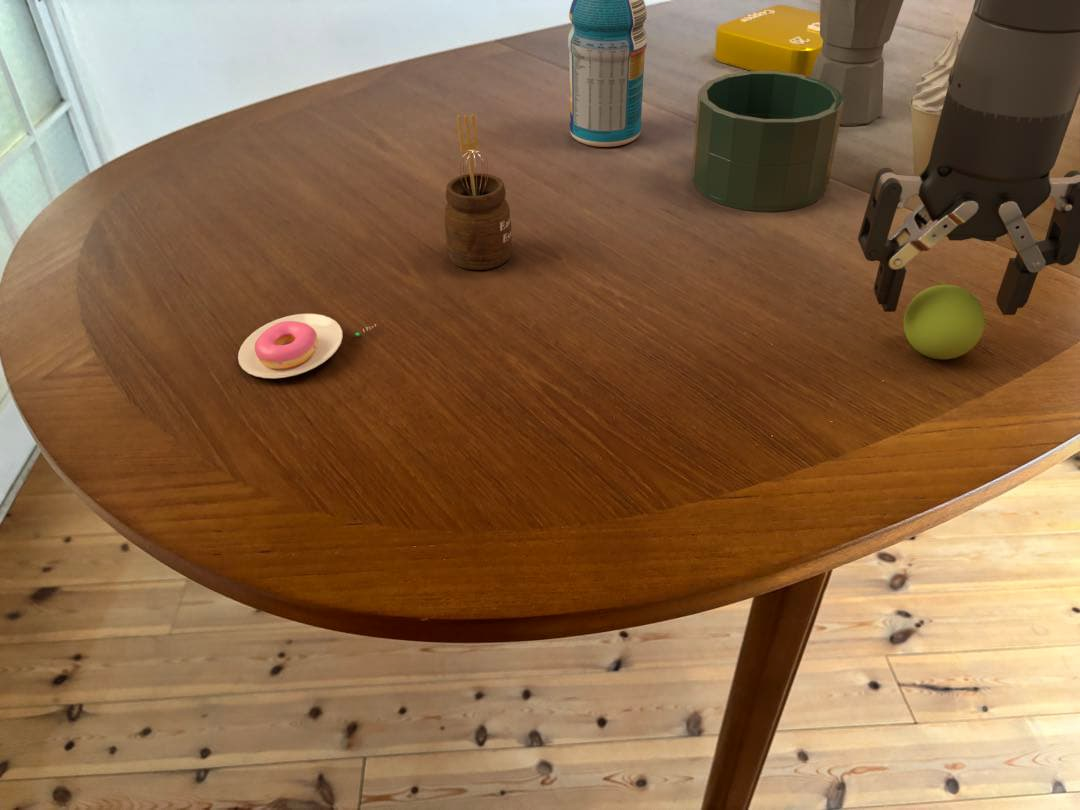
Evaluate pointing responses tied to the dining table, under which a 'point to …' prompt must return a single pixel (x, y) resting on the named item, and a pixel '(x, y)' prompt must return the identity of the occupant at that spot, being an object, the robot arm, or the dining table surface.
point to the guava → (944, 322)
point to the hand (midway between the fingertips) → (945, 307)
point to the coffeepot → (855, 54)
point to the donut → (290, 346)
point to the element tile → (771, 40)
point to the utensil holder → (476, 213)
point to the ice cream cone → (930, 104)
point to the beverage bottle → (606, 70)
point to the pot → (765, 140)
